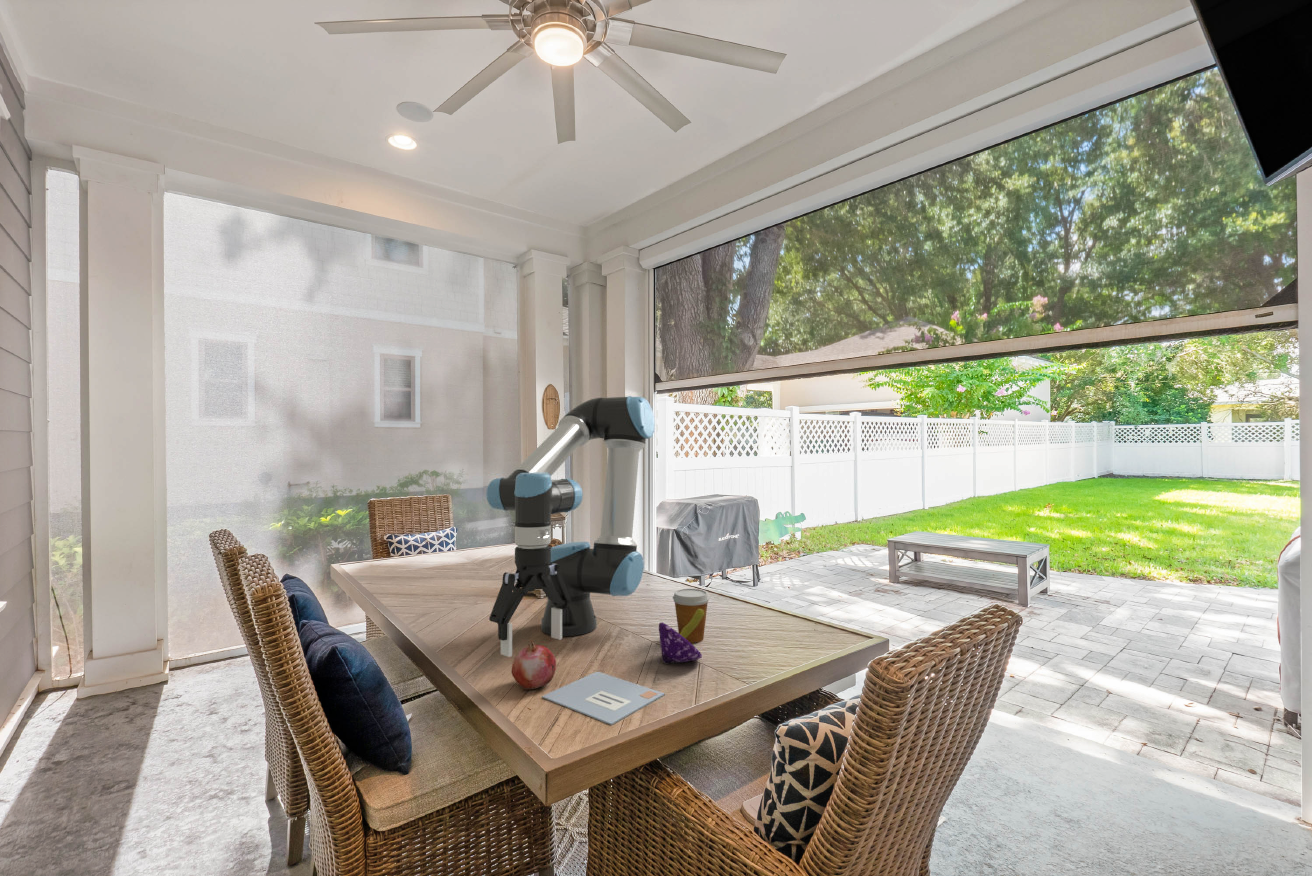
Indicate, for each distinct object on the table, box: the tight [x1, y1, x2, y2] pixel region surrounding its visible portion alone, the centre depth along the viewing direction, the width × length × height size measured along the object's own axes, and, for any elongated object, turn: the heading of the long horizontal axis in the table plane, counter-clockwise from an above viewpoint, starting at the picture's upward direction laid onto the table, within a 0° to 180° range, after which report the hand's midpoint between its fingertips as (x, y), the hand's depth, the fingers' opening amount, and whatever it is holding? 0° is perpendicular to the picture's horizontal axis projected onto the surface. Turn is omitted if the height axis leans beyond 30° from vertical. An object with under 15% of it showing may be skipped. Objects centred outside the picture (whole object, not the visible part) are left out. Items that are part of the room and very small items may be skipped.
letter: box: [541, 670, 666, 726], centre depth 121 cm, size 19×16×1 cm
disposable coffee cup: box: [672, 588, 710, 644], centre depth 155 cm, size 10×10×12 cm
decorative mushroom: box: [658, 609, 704, 665], centre depth 139 cm, size 12×12×15 cm
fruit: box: [511, 639, 557, 691], centre depth 126 cm, size 9×10×10 cm
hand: (532, 646), depth 126 cm, fingers open, 13 cm apart
